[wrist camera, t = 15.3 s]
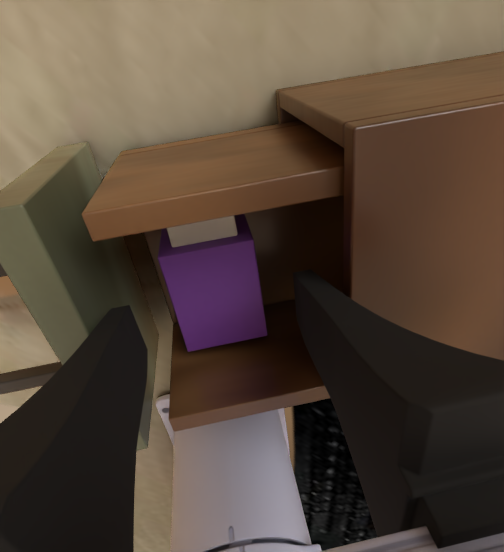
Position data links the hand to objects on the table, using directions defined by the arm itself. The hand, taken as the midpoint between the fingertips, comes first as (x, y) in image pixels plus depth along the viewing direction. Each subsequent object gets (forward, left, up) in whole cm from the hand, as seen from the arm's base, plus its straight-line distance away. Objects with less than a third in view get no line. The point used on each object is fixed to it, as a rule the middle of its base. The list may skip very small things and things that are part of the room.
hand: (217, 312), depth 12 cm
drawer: (0, +2, -6) cm, 6 cm away
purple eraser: (0, 0, -5) cm, 5 cm away
